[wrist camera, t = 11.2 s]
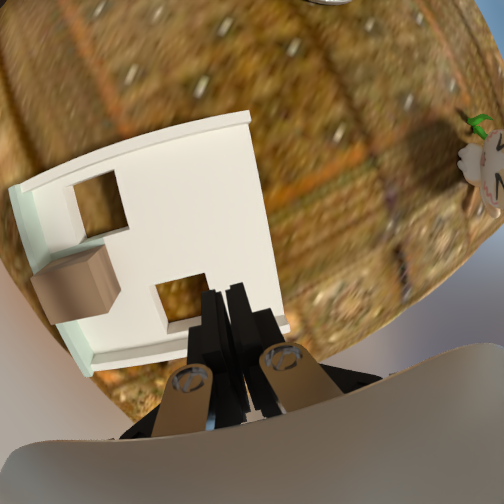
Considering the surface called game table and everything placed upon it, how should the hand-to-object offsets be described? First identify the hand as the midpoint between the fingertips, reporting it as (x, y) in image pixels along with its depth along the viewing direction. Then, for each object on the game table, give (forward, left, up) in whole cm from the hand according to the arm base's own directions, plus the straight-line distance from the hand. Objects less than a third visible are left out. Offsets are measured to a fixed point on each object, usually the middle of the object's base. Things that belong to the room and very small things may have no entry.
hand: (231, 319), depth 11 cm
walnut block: (+15, +1, -17) cm, 22 cm away
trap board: (+7, +1, -19) cm, 20 cm away
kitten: (-38, -2, -19) cm, 43 cm away
